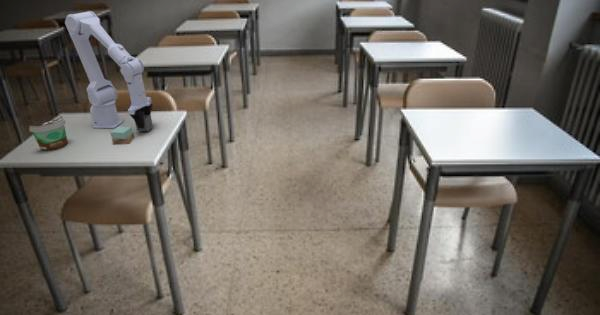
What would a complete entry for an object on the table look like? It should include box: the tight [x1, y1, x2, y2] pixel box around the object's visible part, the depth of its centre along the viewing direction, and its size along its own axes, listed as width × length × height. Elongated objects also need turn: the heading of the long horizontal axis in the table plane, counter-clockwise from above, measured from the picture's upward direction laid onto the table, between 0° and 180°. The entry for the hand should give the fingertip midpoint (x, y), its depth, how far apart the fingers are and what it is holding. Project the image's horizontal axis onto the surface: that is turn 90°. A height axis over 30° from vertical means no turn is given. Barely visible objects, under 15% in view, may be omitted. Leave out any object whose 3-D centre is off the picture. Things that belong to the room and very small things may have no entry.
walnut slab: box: [111, 132, 135, 145], centre depth 156 cm, size 6×6×2 cm
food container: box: [29, 115, 69, 152], centre depth 151 cm, size 12×6×10 cm, turn 148°
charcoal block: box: [134, 115, 154, 132], centre depth 164 cm, size 4×4×5 cm
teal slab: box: [109, 126, 134, 139], centre depth 155 cm, size 6×6×2 cm
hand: (144, 125), depth 164 cm, fingers closed on charcoal block, 4 cm apart
